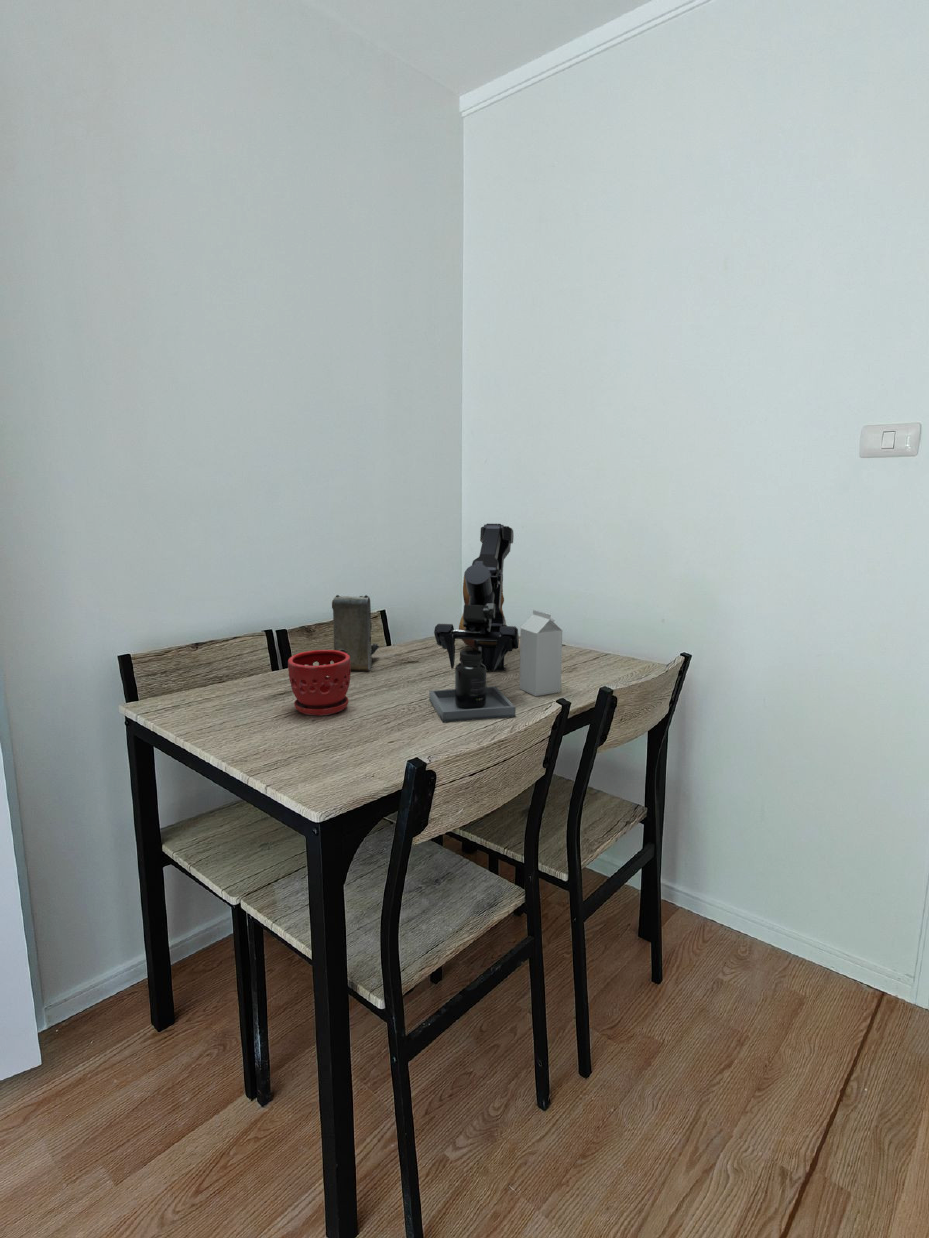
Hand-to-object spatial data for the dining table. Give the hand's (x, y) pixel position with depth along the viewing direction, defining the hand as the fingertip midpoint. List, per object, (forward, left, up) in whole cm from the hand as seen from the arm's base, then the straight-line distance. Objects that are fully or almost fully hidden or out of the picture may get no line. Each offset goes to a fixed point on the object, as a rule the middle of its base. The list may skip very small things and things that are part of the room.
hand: (472, 668), depth 158 cm
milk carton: (-18, -7, -9) cm, 21 cm away
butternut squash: (-15, -50, -9) cm, 53 cm away
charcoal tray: (+1, +2, -8) cm, 9 cm away
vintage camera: (+22, -41, -9) cm, 47 cm away
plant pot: (+33, -4, -9) cm, 34 cm away
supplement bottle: (+1, +2, -8) cm, 8 cm away
